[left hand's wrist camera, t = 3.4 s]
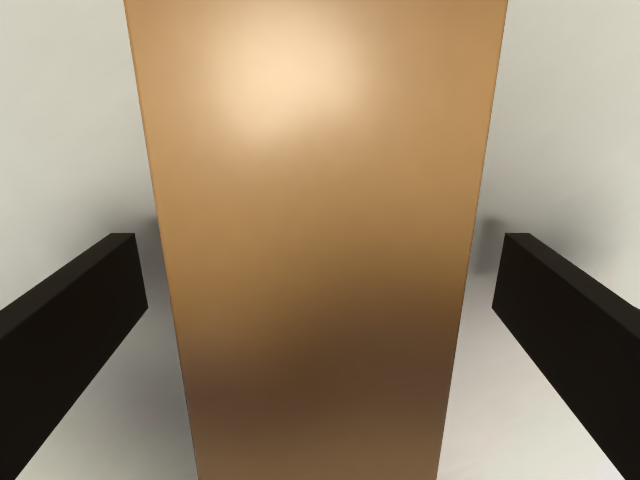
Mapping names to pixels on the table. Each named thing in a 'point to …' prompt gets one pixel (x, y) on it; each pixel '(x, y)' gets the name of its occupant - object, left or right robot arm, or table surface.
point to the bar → (316, 221)
